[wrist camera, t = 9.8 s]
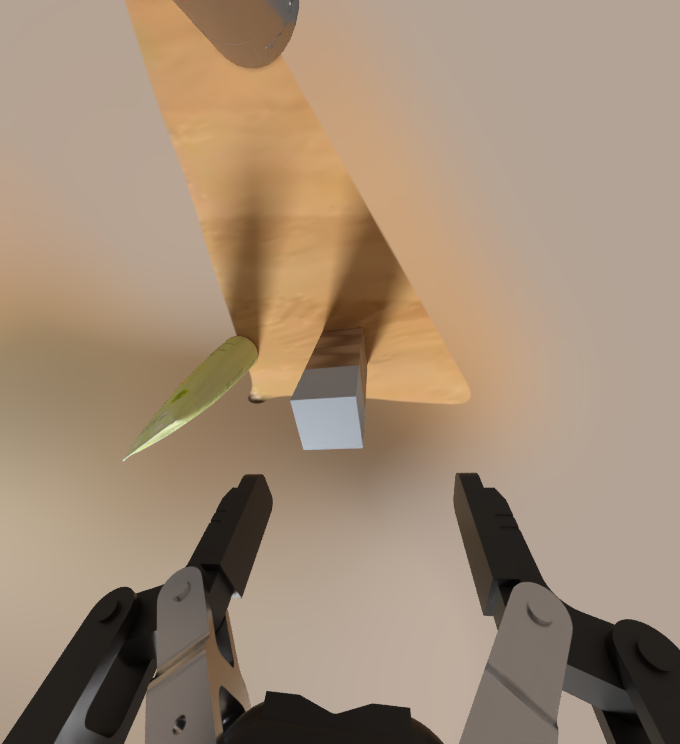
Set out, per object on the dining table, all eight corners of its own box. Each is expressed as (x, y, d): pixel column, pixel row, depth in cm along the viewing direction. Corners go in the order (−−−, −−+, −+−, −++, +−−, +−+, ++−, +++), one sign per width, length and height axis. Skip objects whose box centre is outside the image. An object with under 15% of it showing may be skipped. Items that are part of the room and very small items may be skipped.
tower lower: (329, 367, 40) (322, 387, 35) (322, 331, 38) (314, 348, 33) (367, 364, 39) (366, 384, 34) (363, 327, 37) (361, 343, 32)
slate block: (314, 413, 30) (303, 449, 26) (304, 369, 28) (290, 400, 23) (364, 411, 30) (363, 447, 25) (359, 365, 27) (355, 396, 22)
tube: (225, 327, 39) (107, 411, 22) (260, 335, 39) (170, 425, 22) (225, 362, 41) (121, 461, 24) (258, 370, 41) (177, 474, 24)
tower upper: (323, 387, 35) (314, 414, 30) (314, 348, 33) (304, 370, 28) (366, 384, 34) (364, 411, 30) (361, 343, 32) (358, 365, 27)
